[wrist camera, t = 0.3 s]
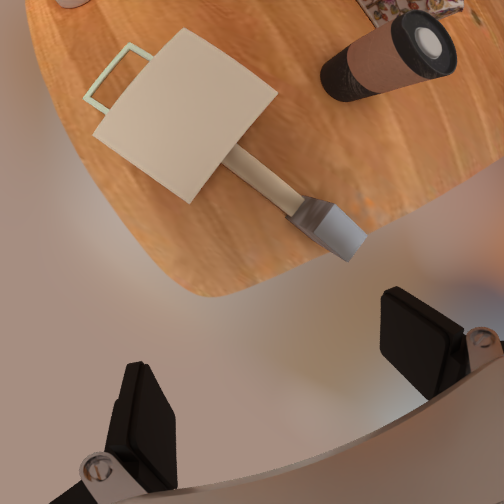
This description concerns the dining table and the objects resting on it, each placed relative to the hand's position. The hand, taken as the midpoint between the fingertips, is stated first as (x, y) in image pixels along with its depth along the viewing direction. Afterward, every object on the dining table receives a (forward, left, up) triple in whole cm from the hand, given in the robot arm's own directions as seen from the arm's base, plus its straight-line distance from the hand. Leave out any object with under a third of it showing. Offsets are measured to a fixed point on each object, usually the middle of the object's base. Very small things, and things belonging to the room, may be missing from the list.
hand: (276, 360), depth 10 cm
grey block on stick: (-8, +2, -30) cm, 31 cm away
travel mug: (-28, +2, -30) cm, 41 cm away
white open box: (-8, -11, -30) cm, 33 cm away
